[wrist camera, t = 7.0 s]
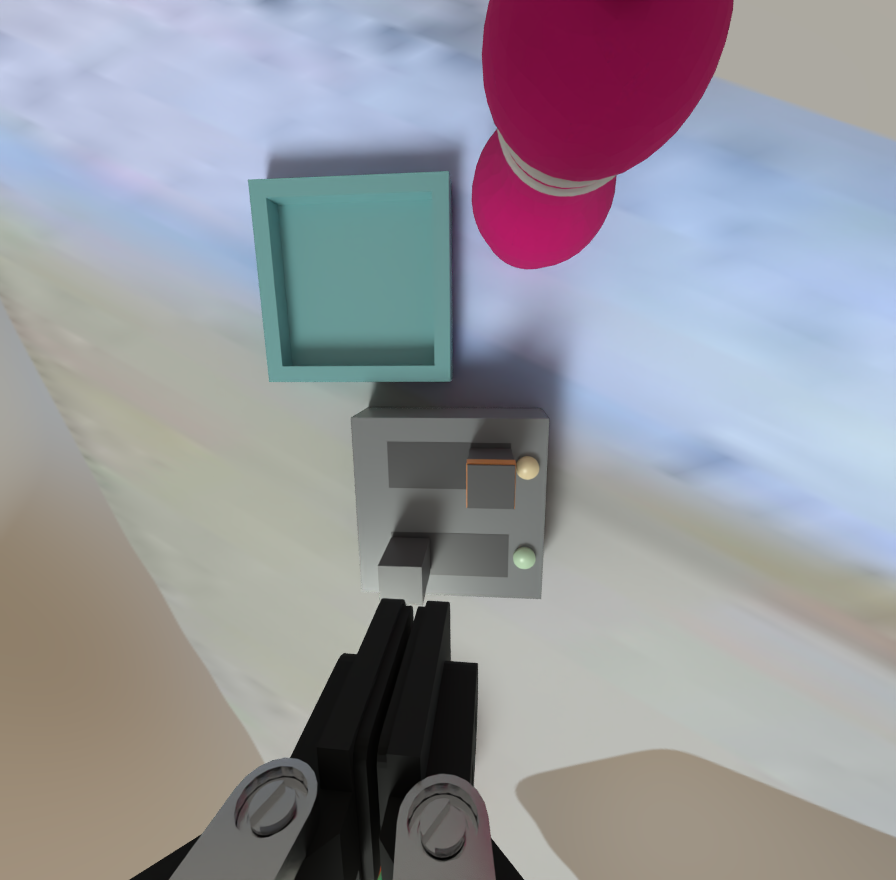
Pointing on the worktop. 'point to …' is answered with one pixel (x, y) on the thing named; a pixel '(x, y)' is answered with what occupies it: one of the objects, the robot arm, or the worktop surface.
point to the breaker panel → (451, 496)
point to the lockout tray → (355, 276)
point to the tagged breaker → (490, 479)
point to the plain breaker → (405, 570)
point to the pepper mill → (581, 110)
